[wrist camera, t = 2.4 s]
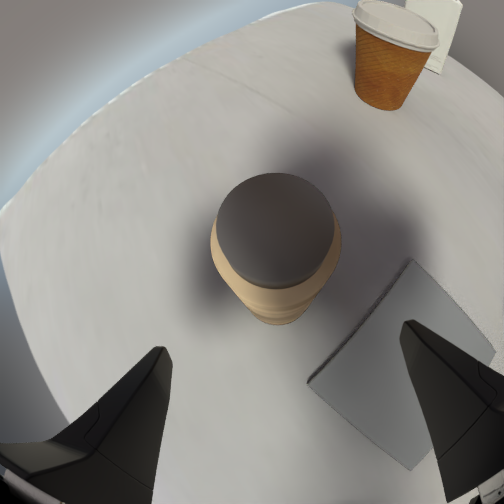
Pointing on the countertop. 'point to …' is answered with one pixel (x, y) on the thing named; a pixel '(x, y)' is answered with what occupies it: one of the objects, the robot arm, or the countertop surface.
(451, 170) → the countertop surface
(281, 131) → the countertop surface
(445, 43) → the skincare box
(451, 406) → the robot arm
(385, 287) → the countertop surface
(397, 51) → the disposable coffee cup
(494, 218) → the countertop surface
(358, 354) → the slate tile
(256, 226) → the oak pepper mill
